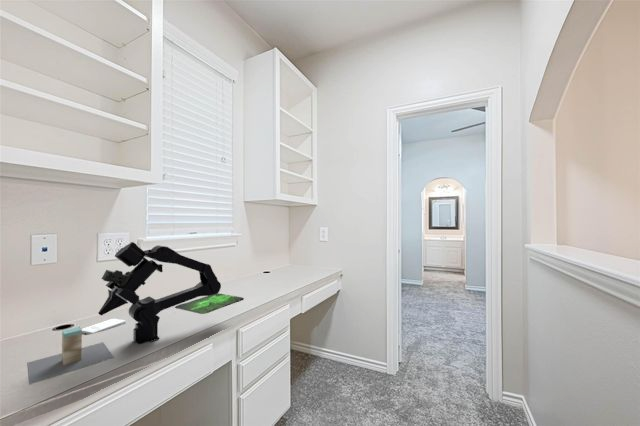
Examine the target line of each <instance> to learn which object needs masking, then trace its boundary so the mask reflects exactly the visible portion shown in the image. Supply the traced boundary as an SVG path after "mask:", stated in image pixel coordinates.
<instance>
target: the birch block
mask: <svg viewBox="0 0 640 426" xmlns="http://www.w3.org/2000/svg"><path fill="white" fill-rule="evenodd" d="M81 329H82V328H81V326H77V327H72V328H68V329H64V330H62V331H61V333H62V334H61V335H62V336H61V353H62V362H63V365H66V364H69V363H72V362H76V361H79V360H81V351H82V348H83V347H82V344H83V343H82V341H83V340H82V338H83V336H82V335H83V333H82V330H81Z"/></svg>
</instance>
